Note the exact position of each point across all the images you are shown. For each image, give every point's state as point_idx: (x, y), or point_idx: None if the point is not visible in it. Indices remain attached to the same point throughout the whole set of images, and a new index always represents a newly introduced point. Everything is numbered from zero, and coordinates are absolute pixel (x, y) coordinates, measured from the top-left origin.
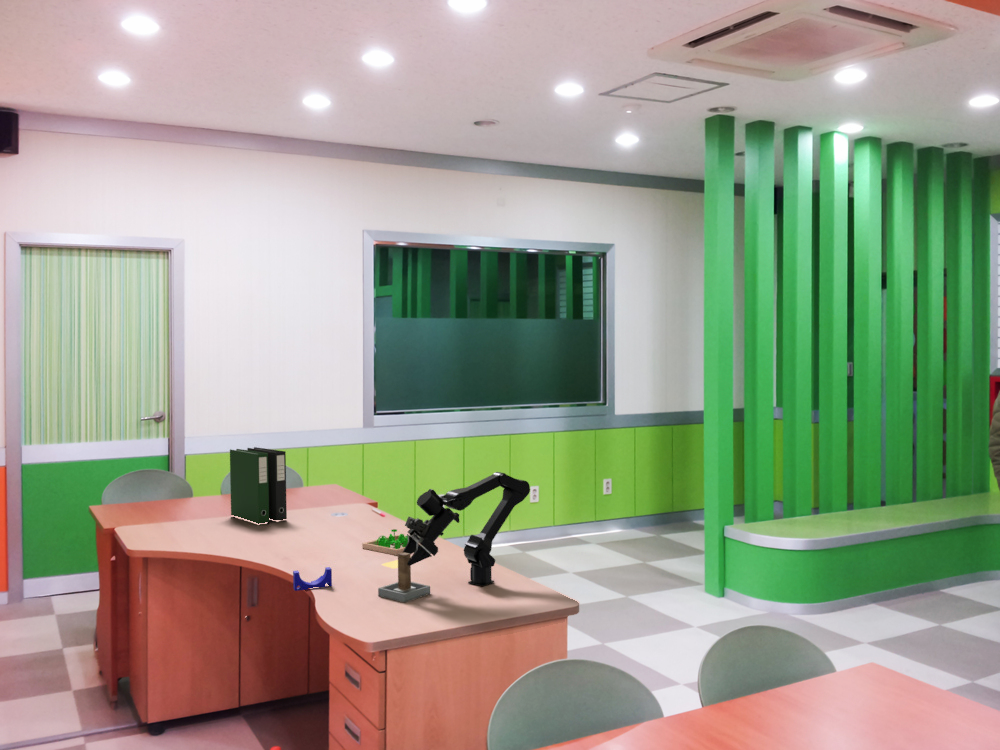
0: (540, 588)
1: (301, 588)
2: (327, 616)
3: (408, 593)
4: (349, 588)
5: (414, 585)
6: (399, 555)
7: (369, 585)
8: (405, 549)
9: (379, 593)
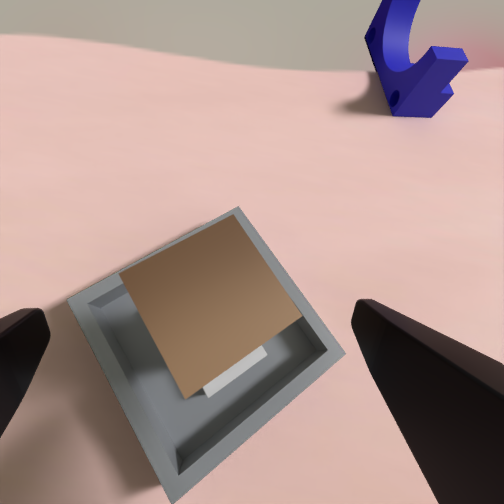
0: None
1: (372, 43)
2: (66, 41)
3: (82, 327)
4: (362, 155)
5: (264, 399)
6: (205, 233)
7: (389, 221)
8: (436, 359)
9: None
